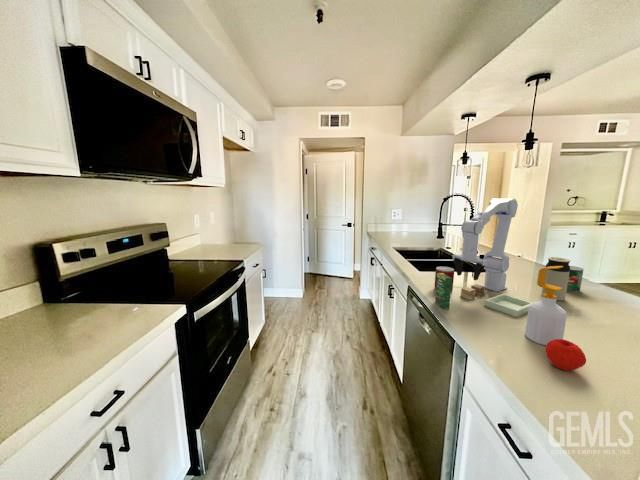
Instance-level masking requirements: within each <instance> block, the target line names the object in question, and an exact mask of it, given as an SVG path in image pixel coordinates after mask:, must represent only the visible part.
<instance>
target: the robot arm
mask: <svg viewBox="0 0 640 480" xmlns="http://www.w3.org/2000/svg"><path fill="white" fill-rule="evenodd" d="M518 207H519V205H518V200H517V199H516V198H495V197H493V198H491V200H489V203H488V206H487V207H486V208H485V209H484V210H483V211H478V213H476V214H475V215H474V216H473V217H472V218H470V219H469V220H468V219H467V220H465V221H463V223H462V225H461V227H460V228H461V229H460V230H461V232H462V233H461V234H462V237H463V240H462V241H463V242H462V249H461V250H462V252H461V254H456V253H455V254H452V259H453V260H452V263H453V266H455V267H454V268H455V270H456V274H457V275H456V276H462V274H463V267H464V262H468V263H473V264H472V268H473V281H478V280H479V277H480V275H481V273H482V271H483V270H485V276H484V284H482V285H481V286H484V287H485V290H486V289H487V290H490V291H494V292H500V291H503V290H506V289H508V287H506V283H507V273H506V272H507V271H508V270H509V269H510V268H509V267H510V257H509V255H508V254H507V253H506V252H505V247H506V244H507V239H508V236H509V231H510V226H511V221H512V219H513V218H515V217H516V214H517V211H518ZM492 216H494V217H497V219H498V221H497V223H496V224H497V225H496V229H495V235H494V237H493V243H492V246H491V250H490V251H487V252H486V253H485V254H484V257H483V259H482V258H479V257H477V256H478V250H479V249H478V248H479V238H480V237H479V236H480V234H482V232H483V231H484V230H483V229H484V228H485V226H486V225H487V224H488V223H489V222H490V221H491V217H492Z"/></svg>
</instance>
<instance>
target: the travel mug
mask: <svg viewBox="0 0 640 480" xmlns="http://www.w3.org/2000/svg"><path fill="white" fill-rule="evenodd" d="M547 260H548V262H547V263H545V268H546V267H550V266H563V267H562V268H559V269H547V271H546V277H545V282H546V284H549V285H554V286H558V287H561V288H562V290H559V291H556V292H554V294H553V295H555V296H556V297H557V298H556V302H561V301H565V300H566V296H567V295H566V294H567V291H566V290H567V284H568V278H569V273H570V266H571V265H570V263H571V261H572V260H570V259H568V258H565V257H559V256H557V257H556V256H548V257H547ZM541 288H542V287H541ZM546 292H547V291H546V290H545V288H542V289H541V296H543V294H546Z"/></svg>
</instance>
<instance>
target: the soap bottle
mask: <svg viewBox="0 0 640 480" xmlns="http://www.w3.org/2000/svg"><path fill="white" fill-rule="evenodd" d="M562 267H563V266H550V267H546V266H545V267H542V268H540V269H539V270H538V275H537V281H536V284H537V286H538V287H540V288H545V290H546V291H547V292H546V294H543V296H542V295H541V296H542V297H541V300H539V301H534V302H532V304H531V305H530V306H529V309H528V313H527V316H526V325H525V331H524V335H525V337H526V338H527V339H529V340H531V341H532V342H534V343H537V344H539V345H542V346H545V345H547V343H548V342H550V341H552V340H555V339H563V340H564V335H565V330H566V329H565V328H566V322H567V318H568V315H567V312H566V310H565V309H564V308H563V307H561V306H560V305H559V304H557V300H556V298H557V297H556V296H555V295H553V294H554V292H556V291H559V290H562V288H561V287H558V286H554V285H549V284H546V282H545V277H546V271H547V269H559V268H562Z"/></svg>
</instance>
